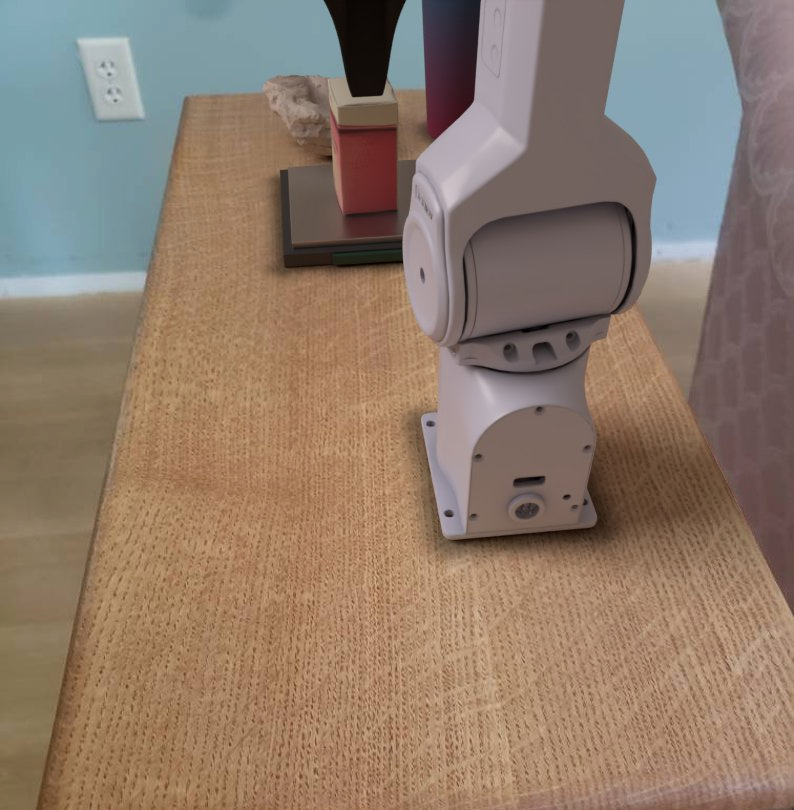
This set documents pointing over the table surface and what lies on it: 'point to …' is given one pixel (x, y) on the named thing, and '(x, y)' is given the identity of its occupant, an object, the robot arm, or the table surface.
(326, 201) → the scale
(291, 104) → the fossil
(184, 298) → the table surface
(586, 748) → the table surface
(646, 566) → the table surface
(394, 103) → the small box
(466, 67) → the cup
